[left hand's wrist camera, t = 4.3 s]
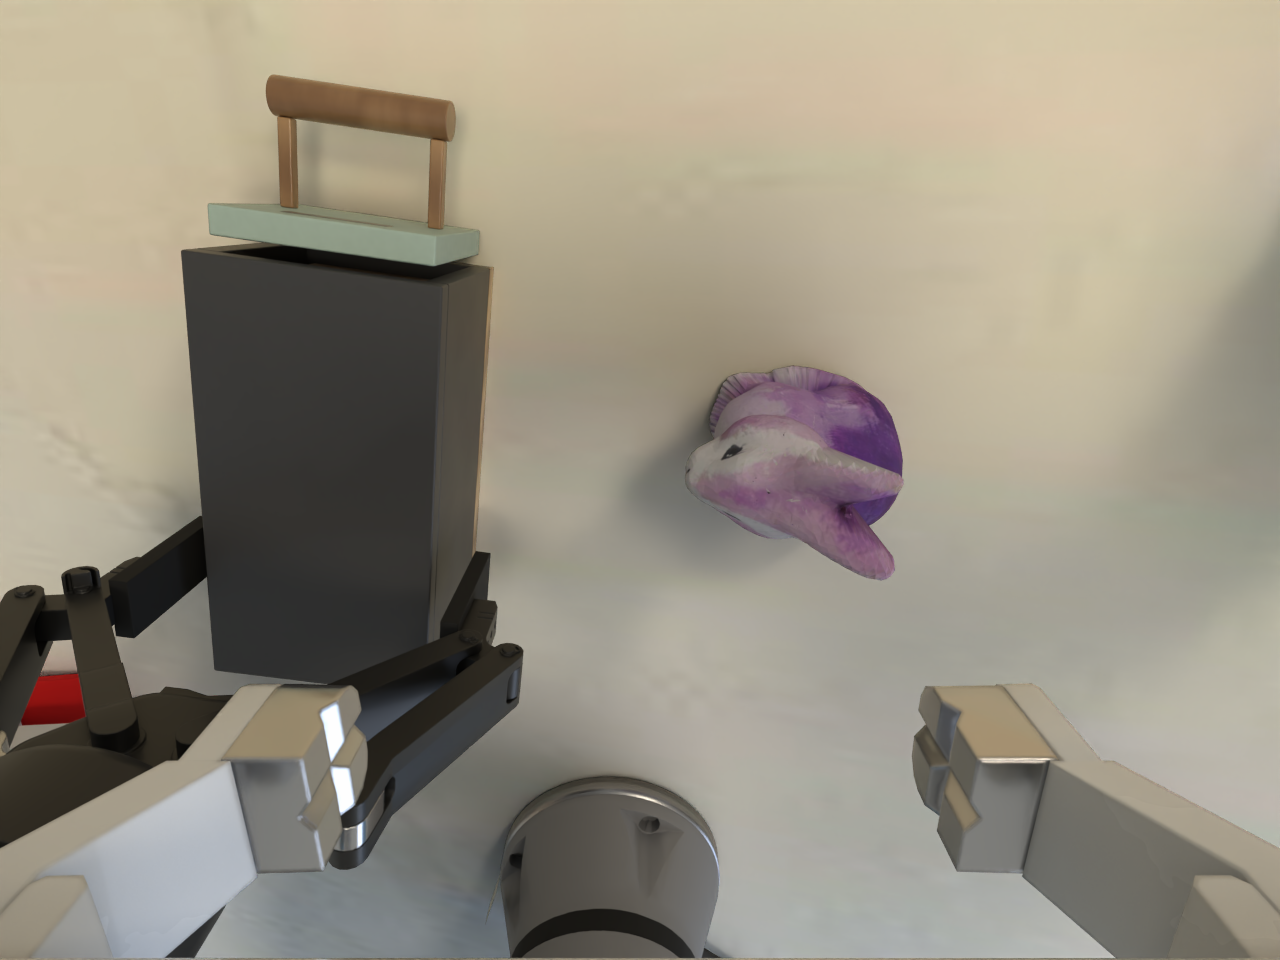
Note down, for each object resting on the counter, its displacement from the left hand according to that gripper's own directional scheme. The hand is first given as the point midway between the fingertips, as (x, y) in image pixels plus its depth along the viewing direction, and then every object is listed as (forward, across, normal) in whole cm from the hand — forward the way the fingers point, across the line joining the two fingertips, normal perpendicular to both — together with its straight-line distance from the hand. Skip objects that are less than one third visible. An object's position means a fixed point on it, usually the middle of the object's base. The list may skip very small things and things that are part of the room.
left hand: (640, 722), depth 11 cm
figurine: (+31, +8, -5) cm, 32 cm away
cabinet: (+31, -14, -5) cm, 34 cm away
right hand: (+24, -15, -9) cm, 30 cm away
